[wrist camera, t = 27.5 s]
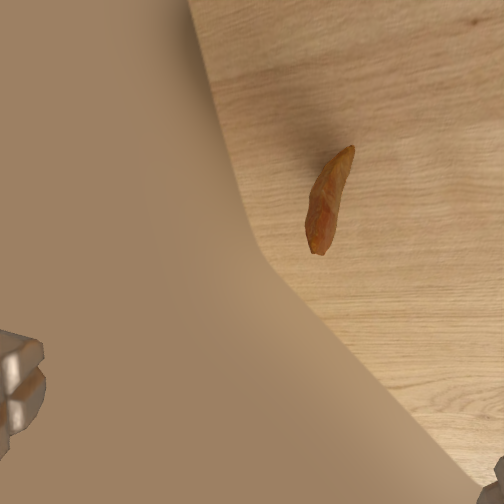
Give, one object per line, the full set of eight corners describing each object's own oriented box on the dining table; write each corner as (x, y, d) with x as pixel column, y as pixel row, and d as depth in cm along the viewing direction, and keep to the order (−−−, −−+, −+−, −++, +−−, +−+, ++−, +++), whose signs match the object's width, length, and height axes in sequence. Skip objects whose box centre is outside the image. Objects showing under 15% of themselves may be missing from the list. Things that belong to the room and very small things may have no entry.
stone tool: (323, 130, 32) (310, 186, 19) (356, 136, 32) (366, 197, 18) (309, 198, 34) (287, 291, 21) (340, 204, 34) (338, 302, 20)
